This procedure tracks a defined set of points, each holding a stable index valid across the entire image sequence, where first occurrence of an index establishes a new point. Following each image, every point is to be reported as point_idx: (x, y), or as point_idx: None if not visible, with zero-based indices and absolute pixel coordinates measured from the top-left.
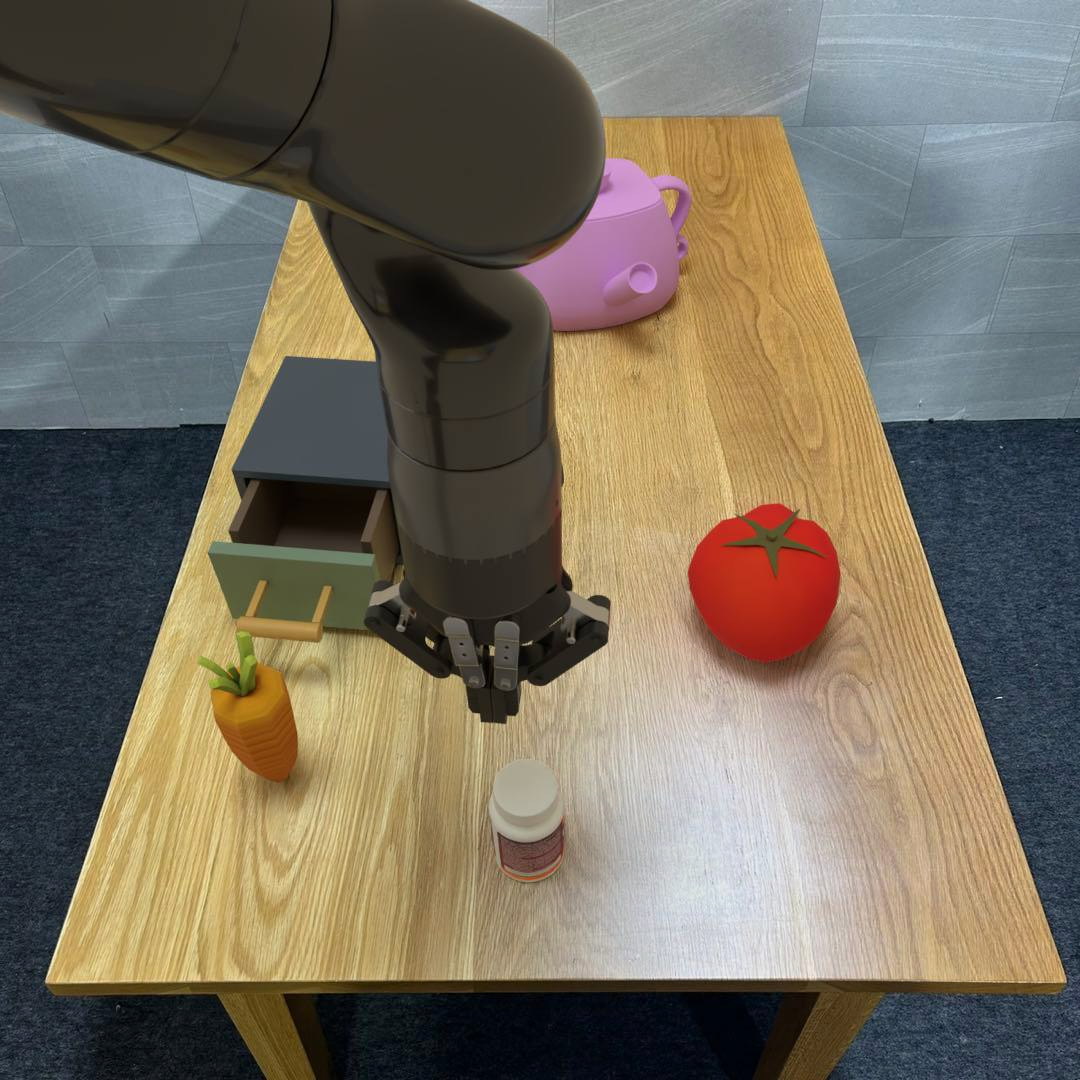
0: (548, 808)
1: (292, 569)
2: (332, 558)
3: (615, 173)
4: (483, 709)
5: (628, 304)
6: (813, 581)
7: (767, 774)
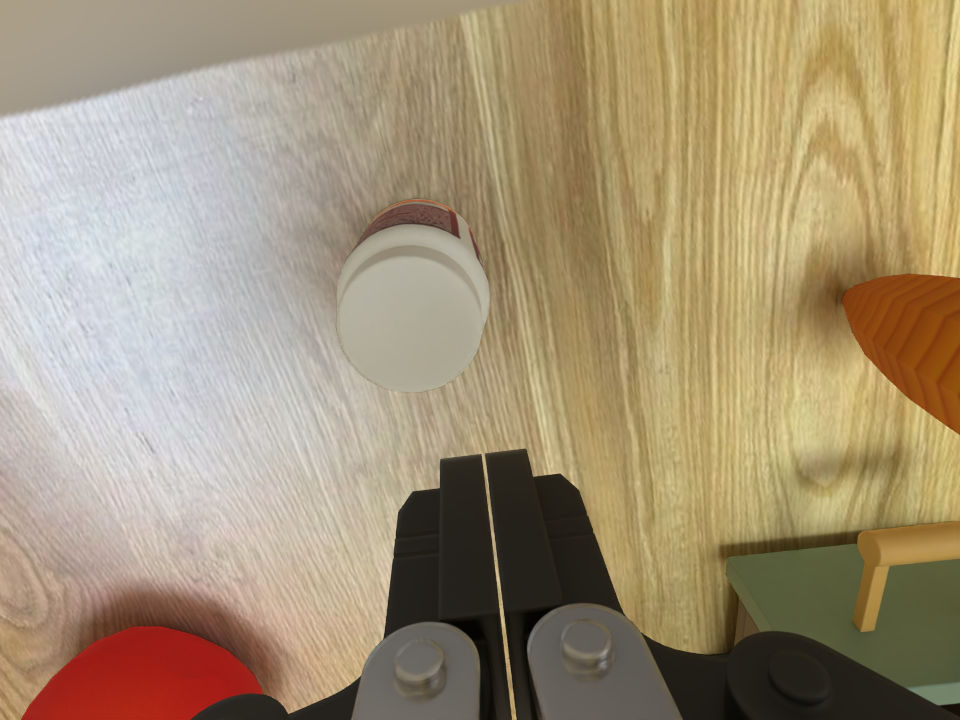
0: (345, 288)
1: (952, 656)
2: None
3: None
4: (521, 497)
5: None
6: None
7: (87, 457)
